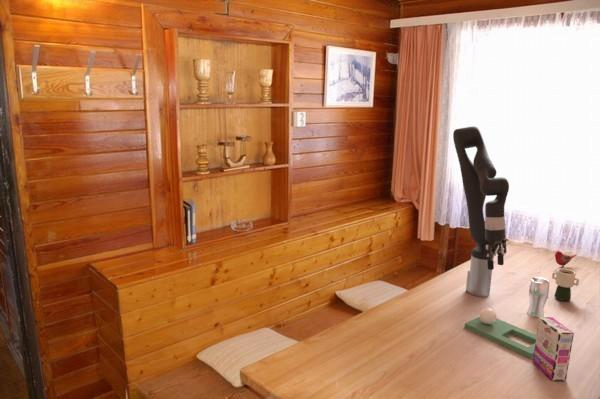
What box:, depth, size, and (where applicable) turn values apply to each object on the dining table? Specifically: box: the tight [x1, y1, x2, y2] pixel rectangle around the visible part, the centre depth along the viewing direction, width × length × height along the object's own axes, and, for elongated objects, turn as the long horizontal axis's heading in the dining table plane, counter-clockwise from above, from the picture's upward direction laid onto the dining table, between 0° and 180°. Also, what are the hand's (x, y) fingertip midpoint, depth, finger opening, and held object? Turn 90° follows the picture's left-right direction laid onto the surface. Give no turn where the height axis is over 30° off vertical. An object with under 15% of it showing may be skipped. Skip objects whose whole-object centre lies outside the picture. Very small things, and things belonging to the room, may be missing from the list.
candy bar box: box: [532, 316, 575, 382], centre depth 150 cm, size 11×5×16 cm, turn 5°
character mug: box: [551, 268, 580, 301], centre depth 204 cm, size 11×7×13 cm, turn 39°
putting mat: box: [463, 316, 537, 360], centre depth 172 cm, size 26×14×2 cm, turn 37°
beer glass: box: [527, 276, 550, 319], centre depth 189 cm, size 7×7×15 cm
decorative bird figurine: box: [554, 250, 578, 269], centre depth 242 cm, size 3×18×10 cm, turn 115°
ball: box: [478, 307, 497, 324], centre depth 177 cm, size 6×6×6 cm
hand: (495, 267), depth 188 cm, fingers open, 8 cm apart
